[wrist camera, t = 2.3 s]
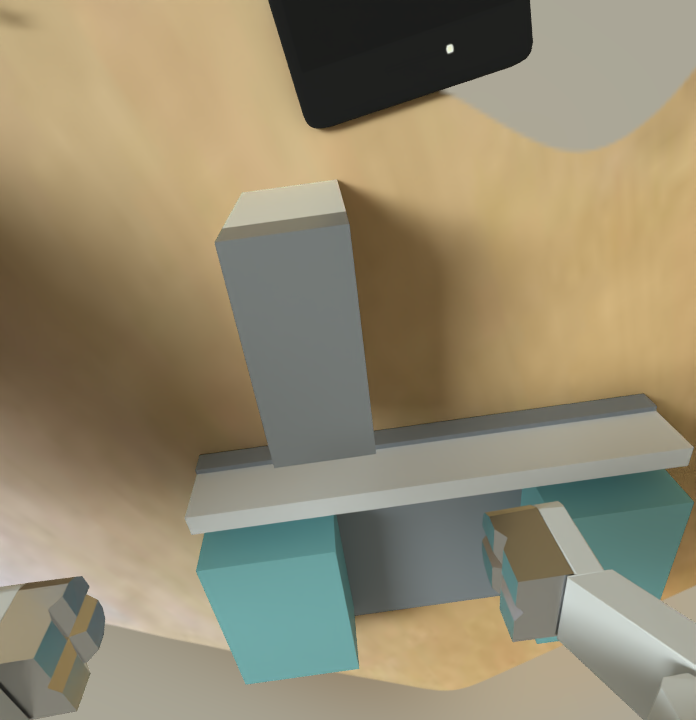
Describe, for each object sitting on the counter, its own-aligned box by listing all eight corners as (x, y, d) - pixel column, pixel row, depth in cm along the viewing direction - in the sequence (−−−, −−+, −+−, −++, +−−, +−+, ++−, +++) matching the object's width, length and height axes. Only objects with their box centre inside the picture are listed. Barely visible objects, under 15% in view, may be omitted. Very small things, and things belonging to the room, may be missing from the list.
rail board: (643, 393, 27) (710, 456, 23) (603, 564, 35) (646, 637, 30) (199, 455, 27) (178, 530, 23) (256, 613, 35) (249, 692, 30)
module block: (336, 179, 20) (349, 223, 14) (359, 361, 25) (376, 453, 19) (242, 192, 20) (214, 242, 14) (282, 372, 25) (274, 468, 19)
